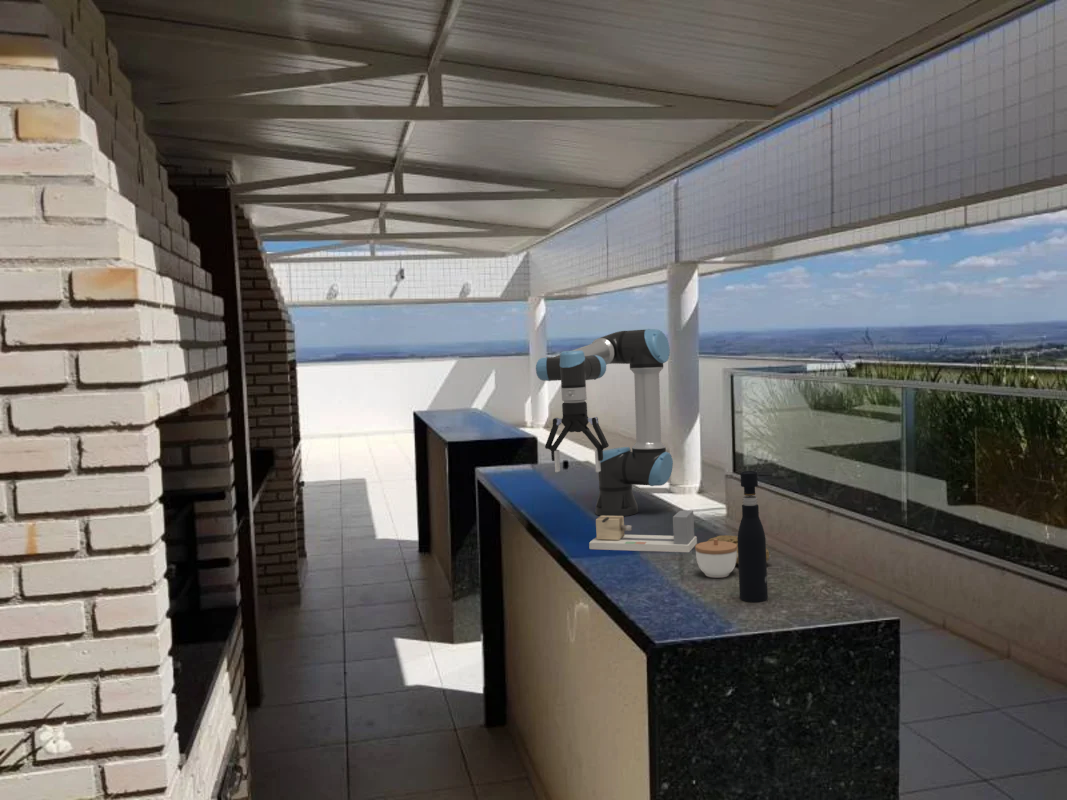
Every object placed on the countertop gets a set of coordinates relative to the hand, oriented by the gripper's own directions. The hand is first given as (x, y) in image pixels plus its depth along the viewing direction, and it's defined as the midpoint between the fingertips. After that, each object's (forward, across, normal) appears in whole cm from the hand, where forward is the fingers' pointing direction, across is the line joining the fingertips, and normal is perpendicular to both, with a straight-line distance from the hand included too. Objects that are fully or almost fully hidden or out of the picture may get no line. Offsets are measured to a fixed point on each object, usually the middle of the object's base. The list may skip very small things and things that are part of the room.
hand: (577, 471), depth 284 cm
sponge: (+23, +49, -14) cm, 56 cm away
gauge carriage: (+20, +11, -2) cm, 23 cm away
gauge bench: (+22, +19, 0) cm, 30 cm away
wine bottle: (+23, +58, -50) cm, 80 cm away
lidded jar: (+23, +46, -30) cm, 59 cm away
